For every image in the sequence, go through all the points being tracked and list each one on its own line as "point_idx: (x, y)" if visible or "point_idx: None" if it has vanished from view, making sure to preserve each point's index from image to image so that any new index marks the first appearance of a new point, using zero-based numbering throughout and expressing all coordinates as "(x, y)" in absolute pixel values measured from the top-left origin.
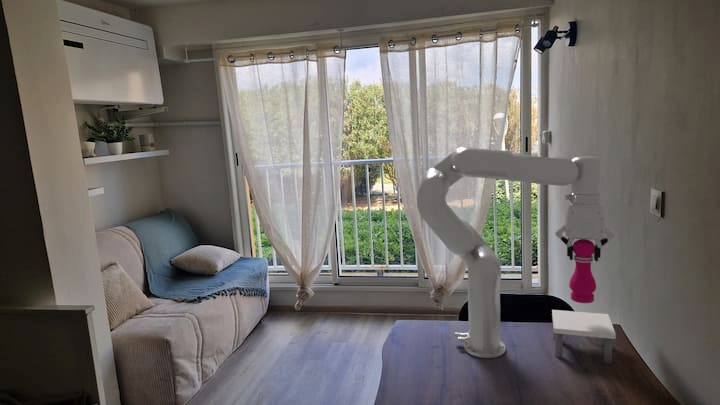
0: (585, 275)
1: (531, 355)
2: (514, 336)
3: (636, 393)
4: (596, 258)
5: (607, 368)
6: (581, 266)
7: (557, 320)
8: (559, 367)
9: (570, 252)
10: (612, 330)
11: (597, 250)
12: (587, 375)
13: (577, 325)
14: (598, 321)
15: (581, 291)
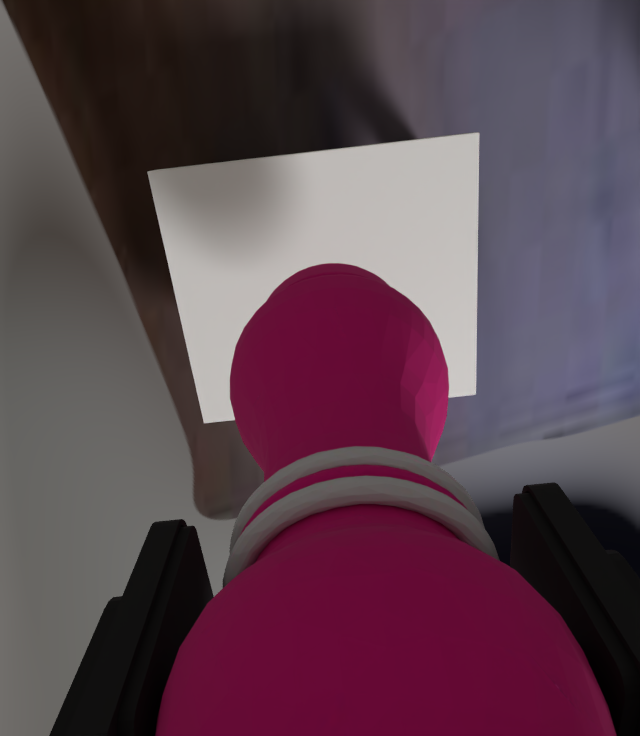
0: (319, 371)
1: (531, 126)
2: (595, 293)
3: None
4: (164, 547)
5: (213, 120)
6: (374, 431)
7: (454, 257)
8: (411, 46)
9: (619, 576)
10: (167, 216)
11: (101, 681)
12: (291, 11)
13: (348, 222)
14: (243, 317)
15: (345, 275)
